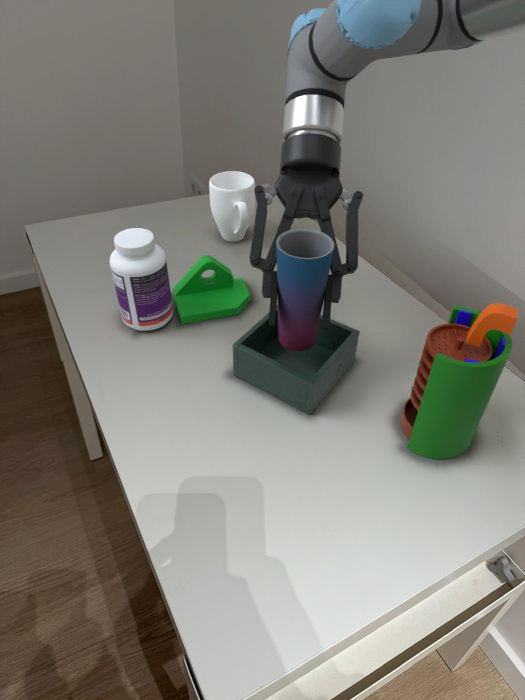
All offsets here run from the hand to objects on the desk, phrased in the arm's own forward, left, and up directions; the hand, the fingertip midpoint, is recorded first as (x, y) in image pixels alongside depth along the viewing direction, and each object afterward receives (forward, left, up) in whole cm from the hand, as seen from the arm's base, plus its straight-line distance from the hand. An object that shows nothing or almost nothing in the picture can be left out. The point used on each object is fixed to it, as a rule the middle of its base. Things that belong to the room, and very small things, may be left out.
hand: (298, 326), depth 64 cm
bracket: (+21, -8, -11) cm, 25 cm away
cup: (+2, -3, -6) cm, 7 cm away
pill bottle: (+27, +1, -11) cm, 29 cm away
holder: (+2, -3, -11) cm, 11 cm away
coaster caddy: (-19, -5, -11) cm, 22 cm away
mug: (+30, -26, -11) cm, 41 cm away
